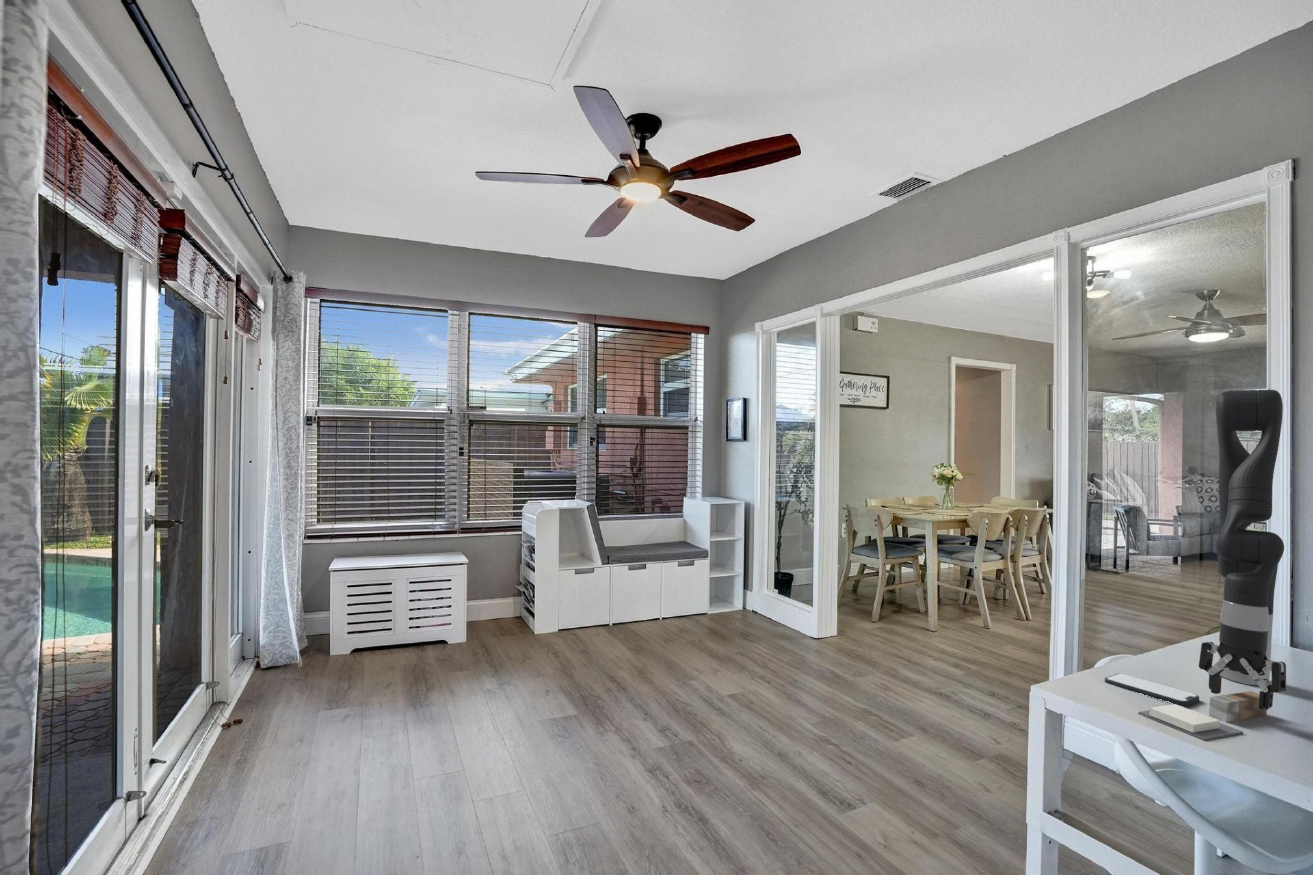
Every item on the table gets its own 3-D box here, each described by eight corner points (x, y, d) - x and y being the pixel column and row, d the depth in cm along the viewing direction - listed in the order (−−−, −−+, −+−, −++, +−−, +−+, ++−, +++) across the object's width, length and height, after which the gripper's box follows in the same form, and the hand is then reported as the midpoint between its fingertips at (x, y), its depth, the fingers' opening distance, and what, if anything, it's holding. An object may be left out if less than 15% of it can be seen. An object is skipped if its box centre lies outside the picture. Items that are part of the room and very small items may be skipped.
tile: (1175, 703, 137) (1149, 707, 134) (1219, 720, 129) (1193, 724, 126) (1174, 712, 137) (1149, 715, 134) (1218, 729, 129) (1193, 733, 126)
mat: (1175, 708, 140) (1176, 706, 140) (1242, 733, 129) (1243, 731, 129) (1138, 713, 136) (1138, 711, 136) (1204, 740, 125) (1204, 738, 125)
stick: (1249, 709, 142) (1250, 691, 142) (1266, 715, 139) (1267, 696, 139) (1209, 715, 137) (1210, 696, 137) (1225, 722, 134) (1227, 702, 134)
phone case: (1102, 684, 154) (1185, 709, 140) (1102, 677, 154) (1185, 702, 140) (1119, 678, 159) (1201, 702, 145) (1119, 672, 159) (1201, 695, 145)
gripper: (1297, 633, 133) (1292, 713, 133) (1216, 613, 146) (1211, 686, 146) (1275, 635, 130) (1269, 717, 130) (1194, 615, 143) (1189, 689, 143)
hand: (1238, 700), depth 138 cm, fingers open, 8 cm apart
